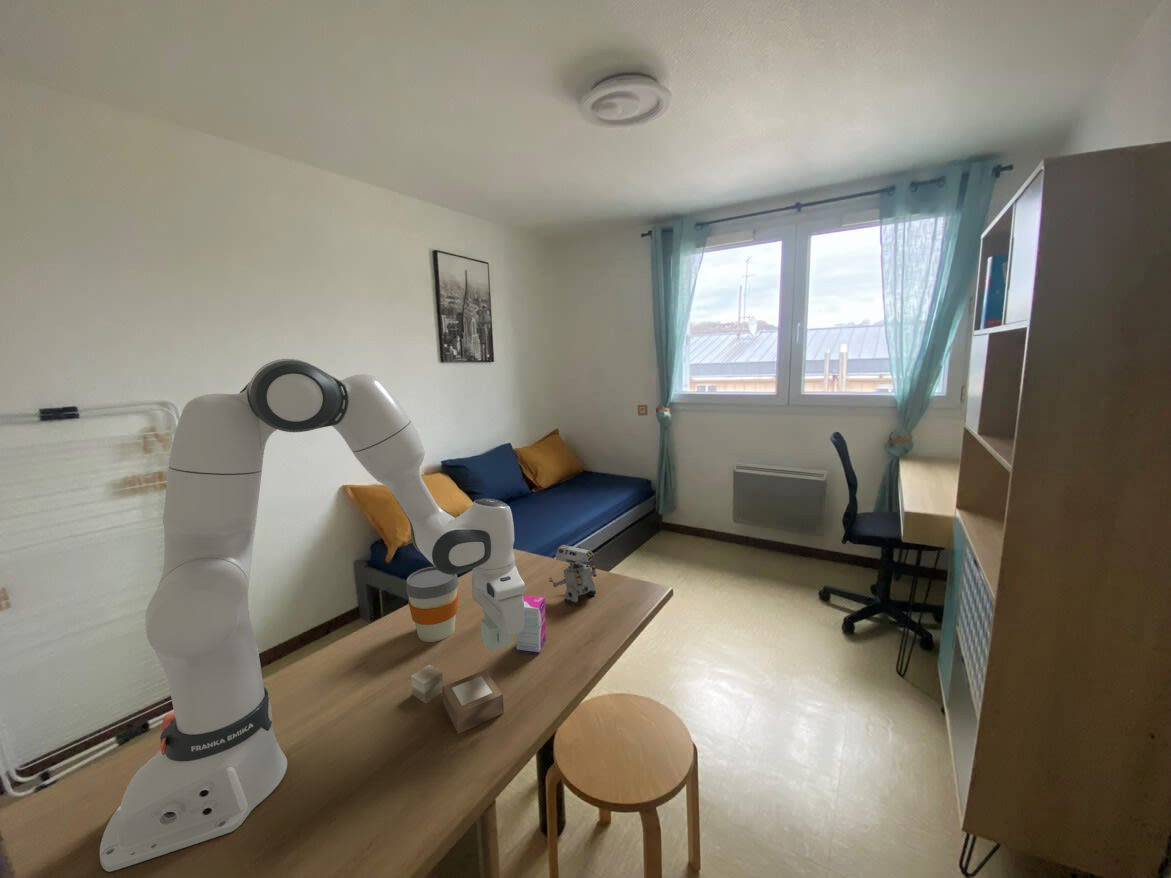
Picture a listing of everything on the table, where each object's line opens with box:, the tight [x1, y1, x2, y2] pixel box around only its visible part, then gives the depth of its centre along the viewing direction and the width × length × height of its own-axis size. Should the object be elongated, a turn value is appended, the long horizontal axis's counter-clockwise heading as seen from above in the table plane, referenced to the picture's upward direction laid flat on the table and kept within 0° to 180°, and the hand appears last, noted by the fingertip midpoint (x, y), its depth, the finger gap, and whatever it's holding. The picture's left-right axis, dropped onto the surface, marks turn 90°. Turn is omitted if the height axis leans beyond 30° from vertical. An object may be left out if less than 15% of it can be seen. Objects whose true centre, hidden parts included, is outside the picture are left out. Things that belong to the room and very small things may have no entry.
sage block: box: [480, 617, 514, 653], centre depth 100 cm, size 5×5×5 cm
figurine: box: [548, 544, 597, 607], centre depth 134 cm, size 9×12×15 cm
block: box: [410, 664, 444, 704], centre depth 96 cm, size 4×4×4 cm
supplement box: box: [515, 594, 547, 655], centre depth 111 cm, size 6×6×12 cm
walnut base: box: [442, 669, 505, 735], centre depth 91 cm, size 9×9×4 cm
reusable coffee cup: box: [406, 566, 460, 643], centre depth 118 cm, size 13×13×15 cm
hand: (496, 634), depth 101 cm, fingers closed on sage block, 5 cm apart
